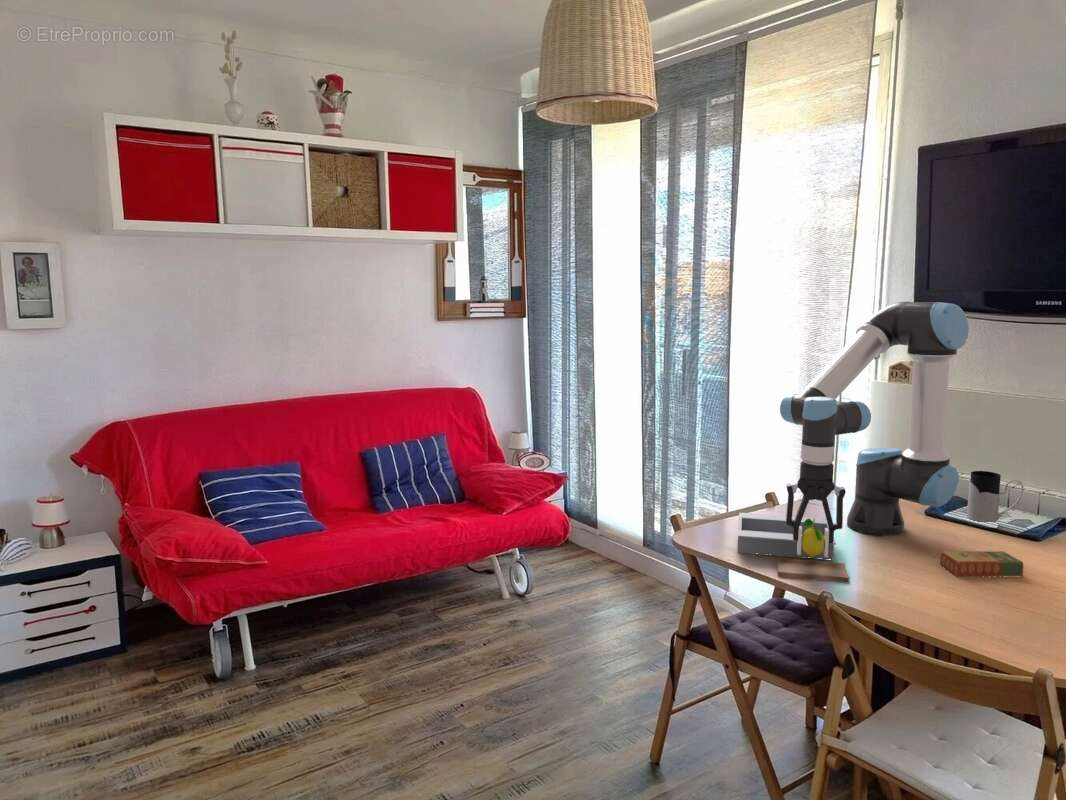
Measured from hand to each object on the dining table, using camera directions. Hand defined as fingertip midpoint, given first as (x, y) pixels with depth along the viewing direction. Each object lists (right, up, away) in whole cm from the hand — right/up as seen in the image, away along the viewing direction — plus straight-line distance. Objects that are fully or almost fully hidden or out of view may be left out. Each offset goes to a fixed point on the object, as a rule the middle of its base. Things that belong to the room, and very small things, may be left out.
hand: (812, 554), depth 195 cm
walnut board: (0, -5, +1) cm, 5 cm away
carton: (+42, -5, +1) cm, 42 cm away
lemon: (0, -1, 0) cm, 1 cm away
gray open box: (-1, -2, +18) cm, 18 cm away
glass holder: (+65, +1, +36) cm, 75 cm away
